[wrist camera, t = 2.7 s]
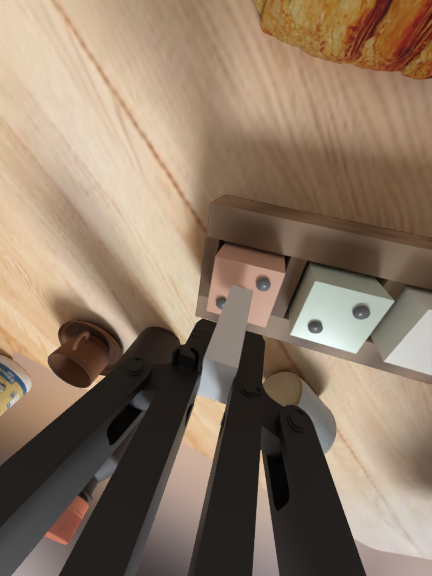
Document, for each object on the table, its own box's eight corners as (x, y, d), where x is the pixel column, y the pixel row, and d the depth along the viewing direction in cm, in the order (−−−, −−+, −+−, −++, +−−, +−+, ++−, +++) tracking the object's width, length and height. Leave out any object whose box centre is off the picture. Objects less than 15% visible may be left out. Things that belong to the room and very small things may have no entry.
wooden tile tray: (486, 249, 17) (553, 276, 13) (403, 344, 23) (431, 384, 19) (224, 194, 20) (210, 202, 16) (209, 291, 26) (195, 315, 22)
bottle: (134, 340, 34) (-6, 510, 17) (153, 318, 31) (1, 504, 14) (168, 365, 35) (66, 549, 18) (190, 346, 32) (89, 552, 15)
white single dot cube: (474, 300, 16) (523, 334, 13) (428, 347, 18) (459, 385, 15) (401, 283, 16) (430, 311, 13) (367, 331, 19) (384, 363, 16)
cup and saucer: (57, 309, 35) (20, 334, 30) (121, 321, 33) (92, 350, 28) (79, 359, 41) (51, 387, 36) (135, 373, 39) (113, 405, 34)
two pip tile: (374, 276, 17) (396, 302, 14) (344, 324, 19) (356, 355, 16) (309, 261, 17) (315, 282, 14) (288, 309, 20) (290, 336, 17)
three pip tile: (284, 255, 18) (285, 274, 14) (267, 304, 20) (265, 329, 17) (225, 241, 18) (214, 257, 15) (216, 290, 21) (205, 312, 18)
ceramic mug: (298, 360, 28) (302, 416, 22) (331, 396, 29) (344, 458, 23) (238, 381, 33) (228, 431, 27) (269, 411, 35) (266, 465, 29)
